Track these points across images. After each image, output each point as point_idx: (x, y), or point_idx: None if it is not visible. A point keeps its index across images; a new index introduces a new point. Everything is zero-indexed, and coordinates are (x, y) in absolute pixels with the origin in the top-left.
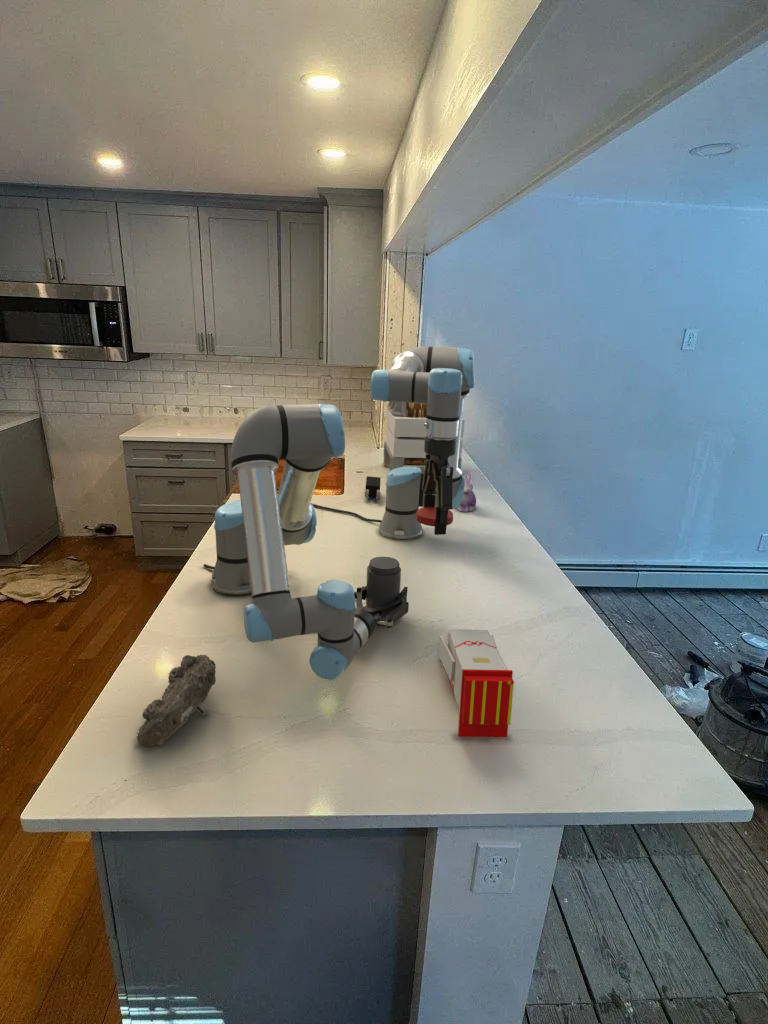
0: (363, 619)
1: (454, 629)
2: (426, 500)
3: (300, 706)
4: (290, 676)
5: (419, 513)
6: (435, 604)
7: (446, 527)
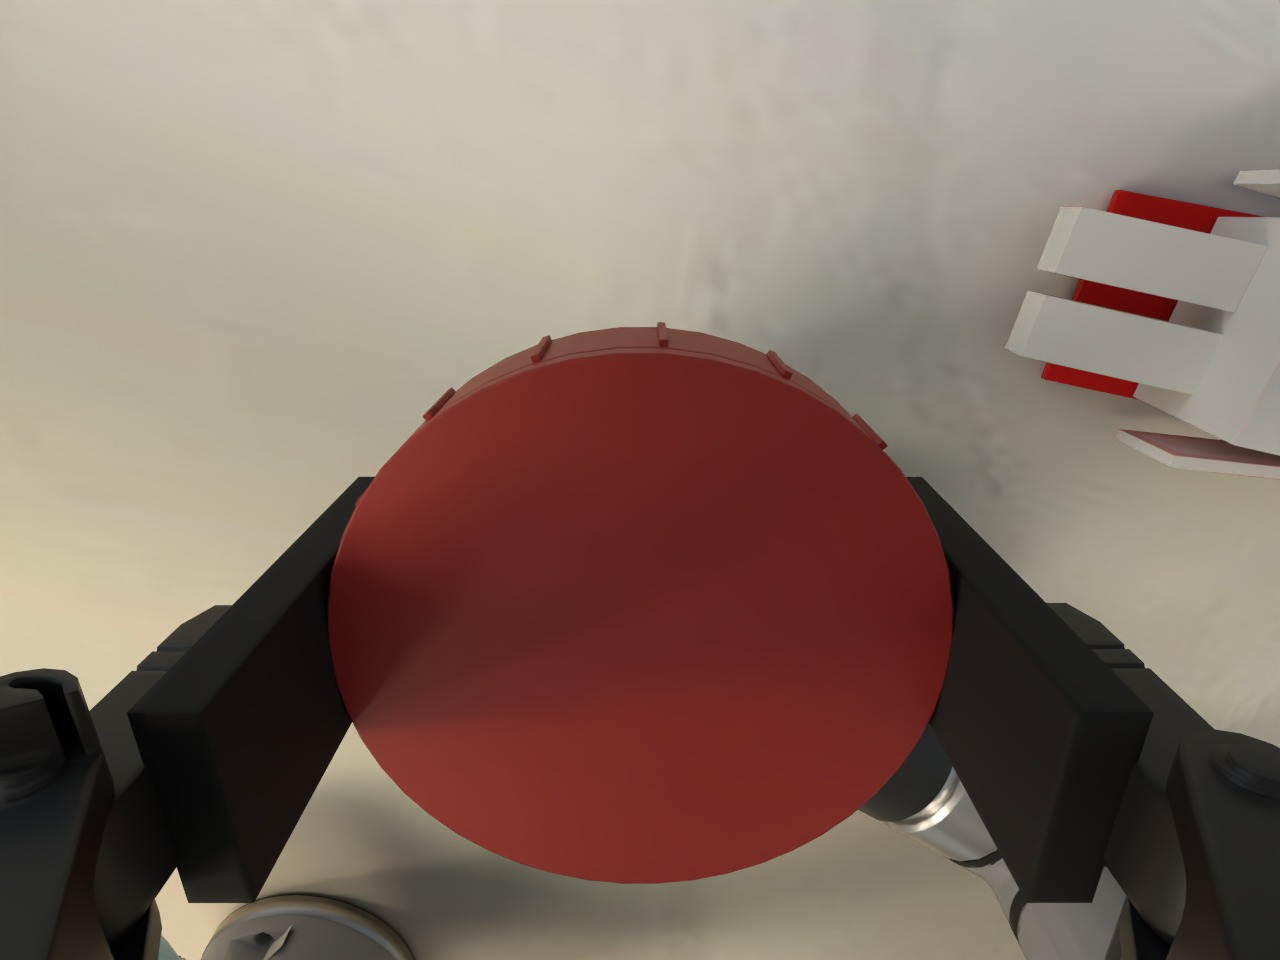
0: (947, 768)
1: (1253, 414)
2: (292, 801)
3: None
4: (939, 859)
5: (644, 861)
6: (547, 246)
7: (959, 517)
